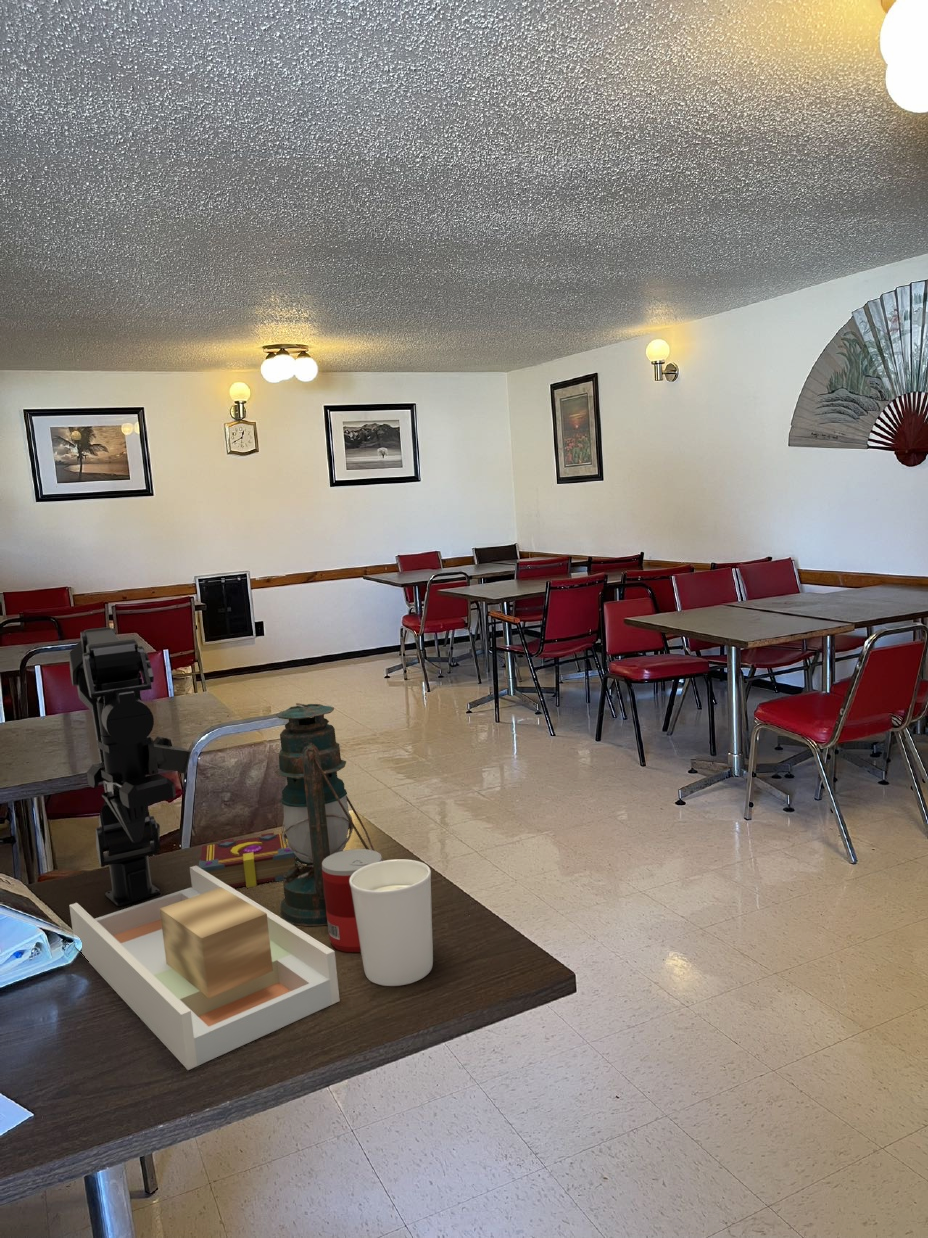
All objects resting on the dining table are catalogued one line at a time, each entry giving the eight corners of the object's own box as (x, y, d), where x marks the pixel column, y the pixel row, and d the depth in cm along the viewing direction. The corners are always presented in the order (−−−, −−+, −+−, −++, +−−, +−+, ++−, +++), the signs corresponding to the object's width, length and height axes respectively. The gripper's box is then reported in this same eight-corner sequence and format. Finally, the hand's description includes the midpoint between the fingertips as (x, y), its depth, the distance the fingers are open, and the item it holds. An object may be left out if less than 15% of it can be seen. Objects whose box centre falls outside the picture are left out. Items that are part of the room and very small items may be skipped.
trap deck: (74, 947, 123) (69, 905, 122) (200, 904, 134) (196, 865, 133) (187, 1070, 92) (181, 1014, 91) (339, 1001, 103) (334, 951, 102)
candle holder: (450, 953, 112) (442, 861, 111) (421, 994, 103) (412, 893, 102) (379, 947, 115) (370, 857, 114) (344, 986, 106) (334, 888, 105)
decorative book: (203, 871, 148) (200, 841, 148) (302, 854, 152) (299, 826, 152) (201, 897, 137) (198, 865, 137) (307, 878, 141) (304, 848, 141)
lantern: (279, 888, 138) (259, 696, 134) (372, 873, 140) (354, 685, 137) (281, 944, 119) (257, 721, 115) (388, 925, 121) (368, 708, 118)
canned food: (380, 954, 113) (372, 870, 112) (320, 953, 115) (312, 870, 114) (396, 927, 121) (389, 848, 120) (340, 926, 122) (332, 848, 121)
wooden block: (166, 963, 109) (159, 908, 108) (227, 940, 114) (221, 887, 113) (208, 998, 100) (201, 938, 99) (272, 971, 105) (266, 913, 104)
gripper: (206, 728, 121) (219, 840, 122) (156, 712, 135) (168, 813, 137) (122, 746, 114) (137, 864, 115) (79, 728, 128) (93, 833, 130)
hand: (136, 841), depth 125 cm, fingers closed
